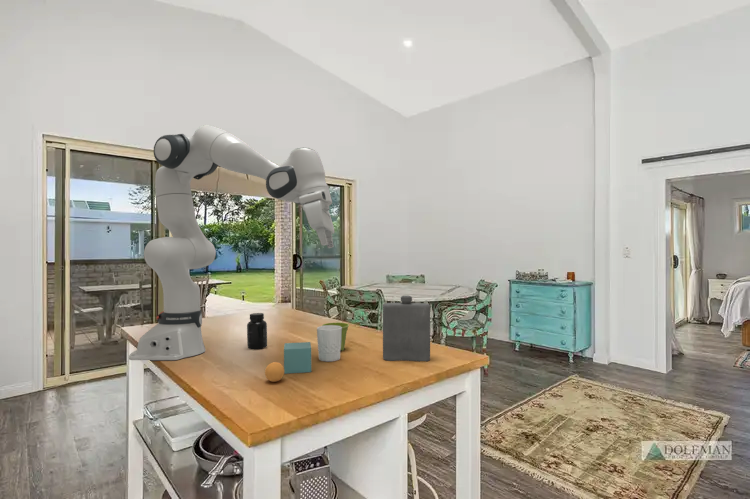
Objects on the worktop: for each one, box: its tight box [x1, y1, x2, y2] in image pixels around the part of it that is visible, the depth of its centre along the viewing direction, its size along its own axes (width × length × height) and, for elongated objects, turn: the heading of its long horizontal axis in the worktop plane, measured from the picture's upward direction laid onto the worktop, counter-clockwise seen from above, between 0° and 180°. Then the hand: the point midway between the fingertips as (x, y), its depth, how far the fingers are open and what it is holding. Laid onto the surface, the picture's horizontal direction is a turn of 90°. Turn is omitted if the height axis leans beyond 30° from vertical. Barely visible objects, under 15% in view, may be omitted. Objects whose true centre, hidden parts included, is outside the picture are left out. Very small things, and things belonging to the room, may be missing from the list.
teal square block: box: [283, 341, 312, 375], centre depth 117 cm, size 8×8×7 cm
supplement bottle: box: [246, 312, 268, 351], centre depth 143 cm, size 7×7×12 cm
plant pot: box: [321, 322, 350, 352], centre depth 139 cm, size 9×9×9 cm
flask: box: [382, 295, 431, 362], centre depth 128 cm, size 15×6×20 cm, turn 84°
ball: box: [264, 361, 285, 383], centre depth 106 cm, size 5×5×5 cm
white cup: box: [316, 325, 342, 362], centre depth 128 cm, size 8×8×10 cm
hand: (327, 246), depth 117 cm, fingers open, 8 cm apart
